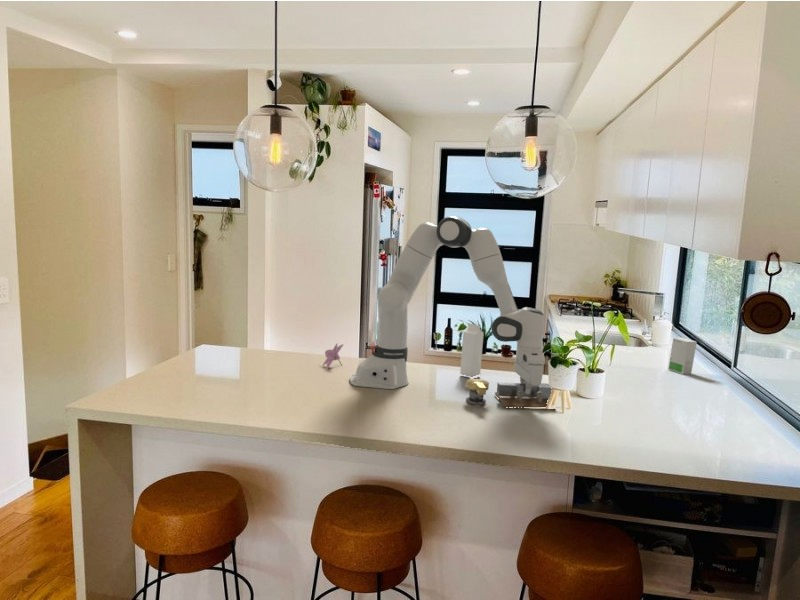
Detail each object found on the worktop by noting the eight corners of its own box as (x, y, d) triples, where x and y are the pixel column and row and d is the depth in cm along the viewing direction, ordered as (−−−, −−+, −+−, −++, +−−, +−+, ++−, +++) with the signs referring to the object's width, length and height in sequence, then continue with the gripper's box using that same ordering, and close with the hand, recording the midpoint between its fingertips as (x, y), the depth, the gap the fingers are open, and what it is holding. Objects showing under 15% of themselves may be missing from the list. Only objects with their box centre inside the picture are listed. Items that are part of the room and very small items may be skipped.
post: (468, 405, 197) (469, 391, 197) (464, 398, 204) (465, 385, 204) (487, 405, 198) (489, 391, 197) (483, 399, 205) (484, 385, 204)
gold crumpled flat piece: (463, 383, 204) (464, 377, 204) (485, 384, 205) (485, 378, 204) (470, 394, 192) (471, 387, 192) (493, 394, 193) (494, 388, 193)
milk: (471, 379, 230) (475, 326, 227) (459, 376, 234) (463, 323, 231) (480, 377, 234) (484, 325, 231) (468, 374, 239) (472, 322, 235)
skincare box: (667, 369, 268) (671, 337, 266) (677, 369, 271) (681, 337, 269) (682, 374, 261) (687, 341, 259) (692, 373, 264) (697, 340, 262)
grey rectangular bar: (499, 396, 200) (500, 385, 200) (495, 392, 205) (496, 381, 205) (551, 398, 202) (552, 387, 201) (546, 394, 207) (547, 383, 206)
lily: (326, 363, 245) (317, 345, 241) (351, 355, 245) (343, 337, 240) (325, 379, 235) (316, 361, 230) (352, 370, 234) (343, 351, 230)
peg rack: (505, 408, 196) (506, 393, 195) (494, 395, 210) (496, 381, 209) (555, 409, 198) (557, 394, 197) (542, 397, 212) (543, 383, 211)
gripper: (511, 346, 211) (508, 382, 213) (529, 360, 191) (525, 399, 193) (528, 347, 212) (524, 383, 214) (547, 360, 192) (543, 400, 194)
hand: (525, 391), depth 203 cm, fingers closed on grey rectangular bar, 3 cm apart
